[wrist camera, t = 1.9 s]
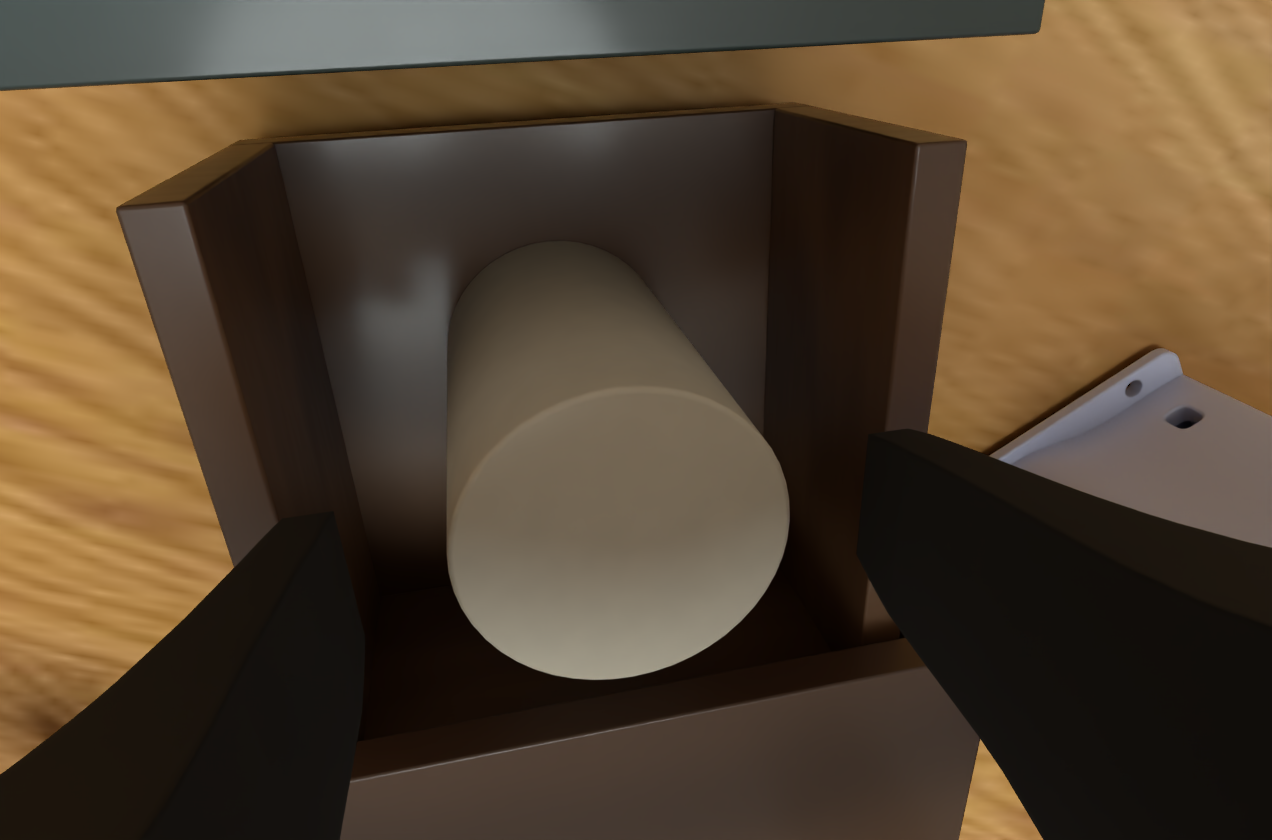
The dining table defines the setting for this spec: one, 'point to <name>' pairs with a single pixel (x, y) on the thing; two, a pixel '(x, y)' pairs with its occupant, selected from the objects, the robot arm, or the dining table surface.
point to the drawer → (495, 225)
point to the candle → (598, 472)
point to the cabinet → (689, 761)
